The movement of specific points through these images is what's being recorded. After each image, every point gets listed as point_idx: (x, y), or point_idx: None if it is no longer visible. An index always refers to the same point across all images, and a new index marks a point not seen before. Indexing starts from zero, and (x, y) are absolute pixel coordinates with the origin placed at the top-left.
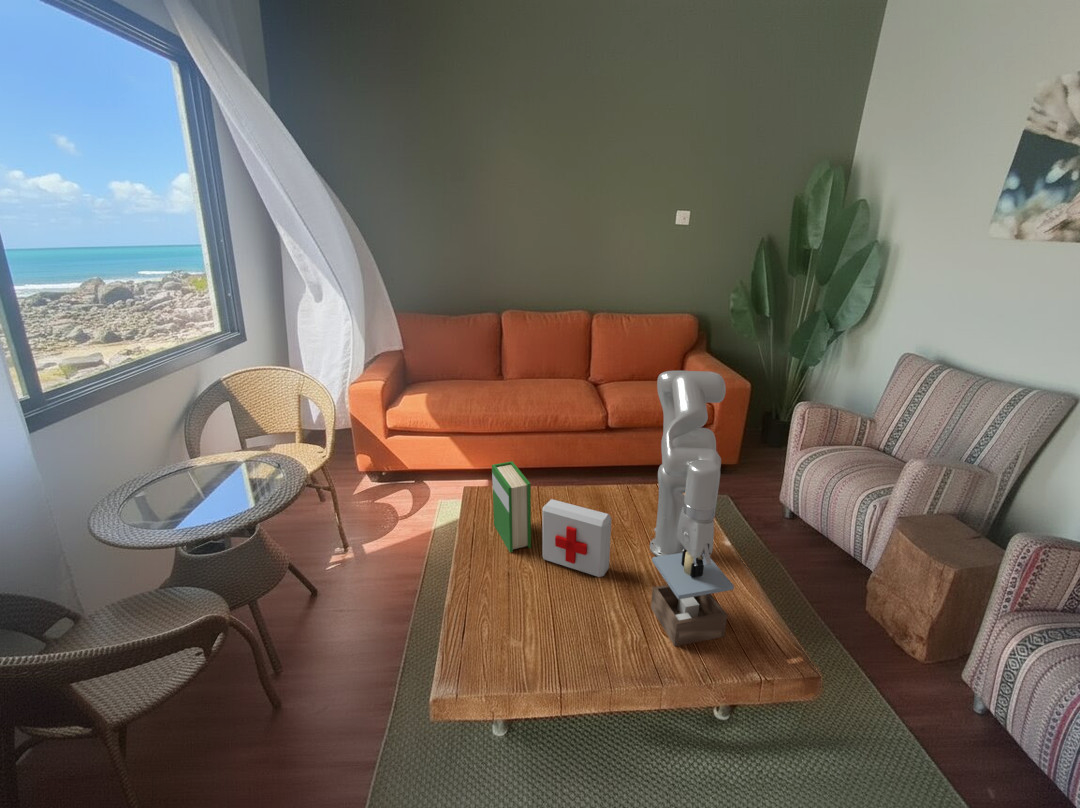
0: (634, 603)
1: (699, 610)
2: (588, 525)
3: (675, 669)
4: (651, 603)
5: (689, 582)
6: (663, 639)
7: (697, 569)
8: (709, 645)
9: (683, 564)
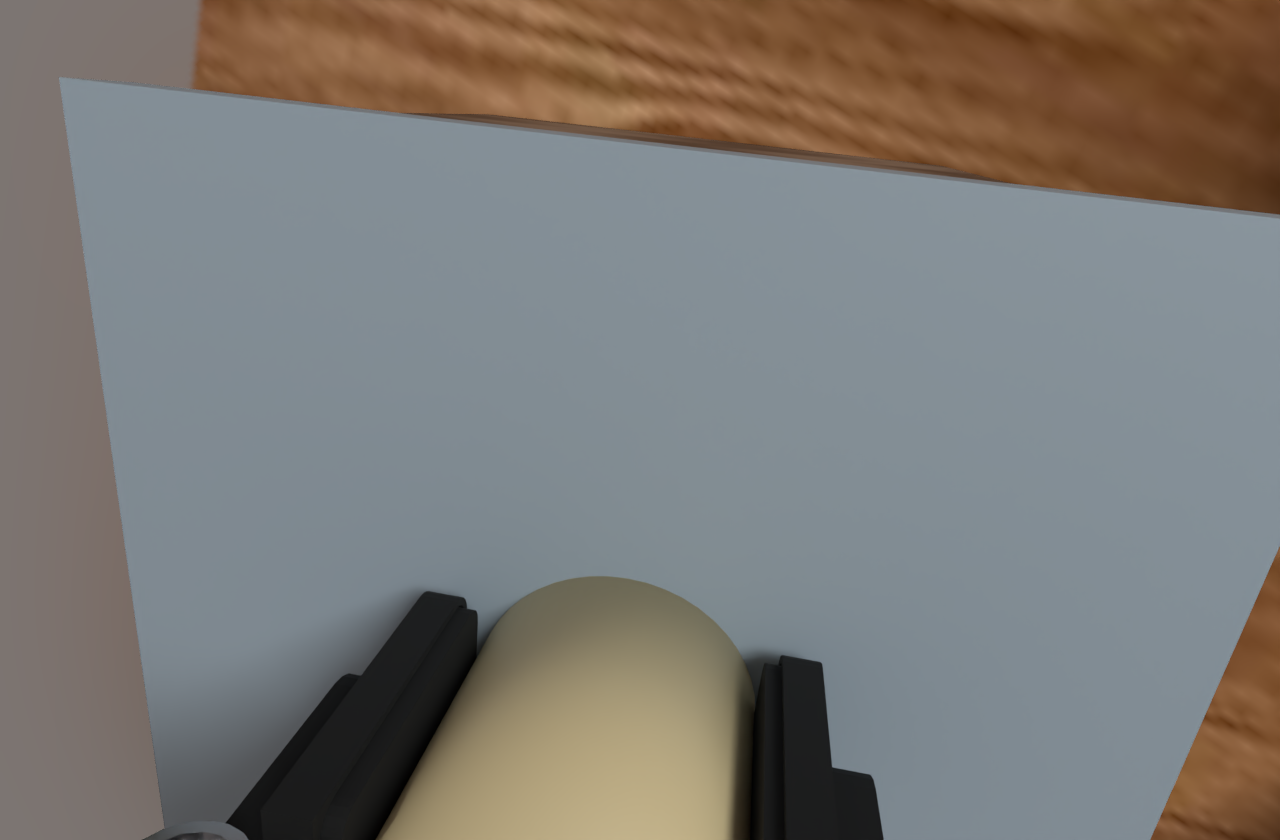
0: (1107, 63)
1: None
2: None
3: (310, 6)
4: (958, 170)
5: (352, 486)
6: (604, 87)
7: (260, 792)
8: None
9: (763, 682)
